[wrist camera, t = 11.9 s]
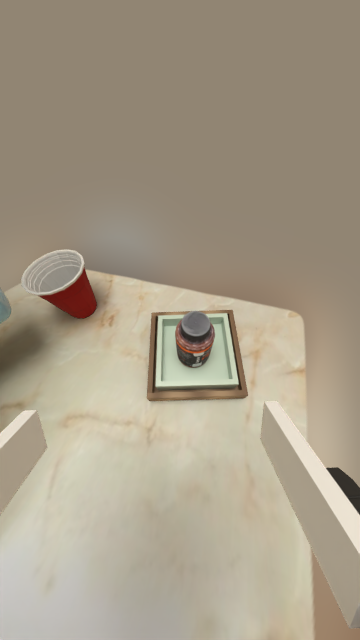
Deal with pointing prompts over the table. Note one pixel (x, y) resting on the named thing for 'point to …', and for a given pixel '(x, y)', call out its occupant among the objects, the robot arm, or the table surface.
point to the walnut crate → (156, 395)
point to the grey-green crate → (208, 376)
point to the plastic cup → (61, 282)
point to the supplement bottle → (194, 339)
